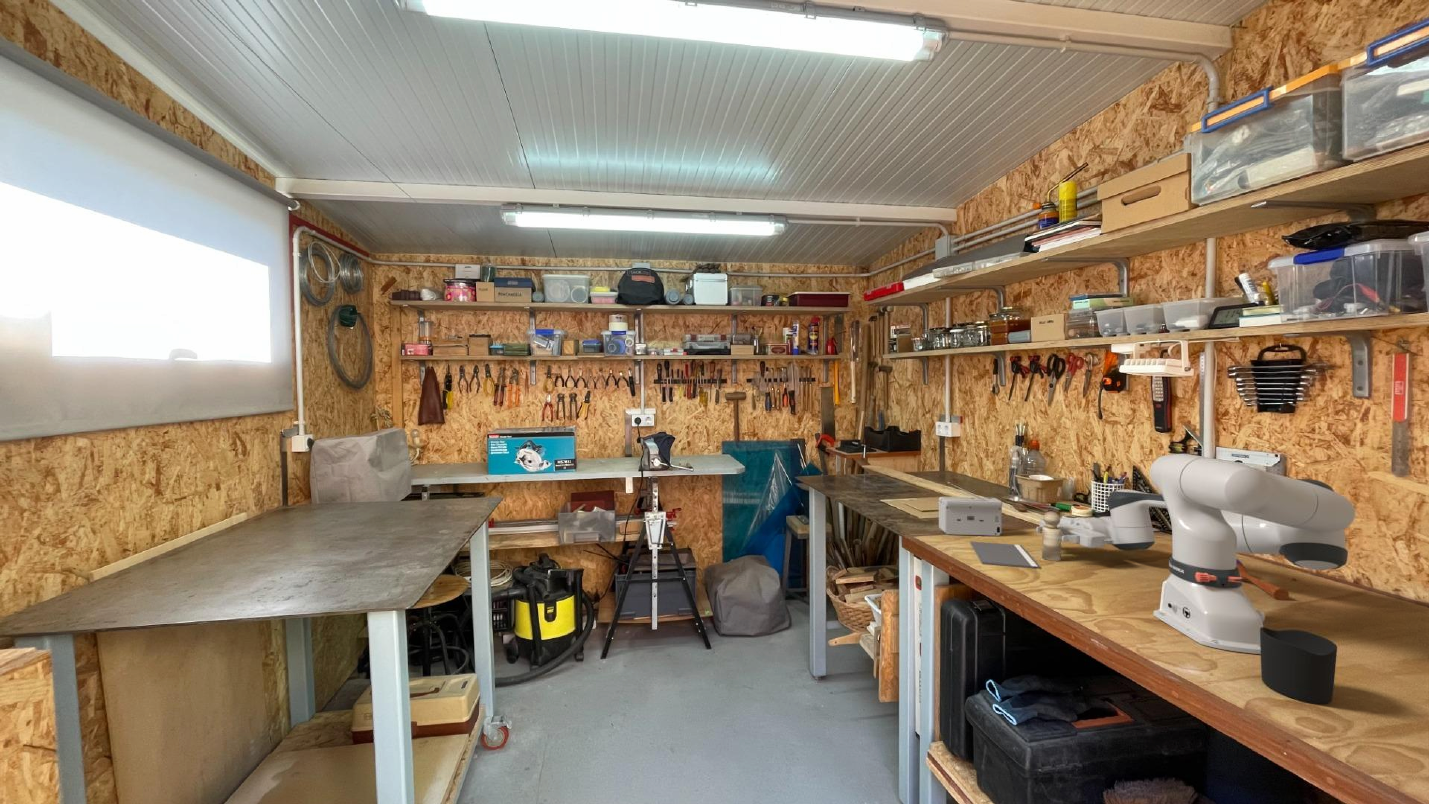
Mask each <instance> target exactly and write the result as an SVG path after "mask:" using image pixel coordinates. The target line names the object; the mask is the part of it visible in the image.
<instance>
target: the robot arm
mask: <svg viewBox="0 0 1429 804" xmlns="http://www.w3.org/2000/svg"><path fill="white" fill-rule="evenodd" d="M1149 469H1150V470H1149V477H1150V480H1151V482H1152V483H1153V485H1154V486H1155V487H1156V488H1157V490H1158V492H1160V493H1150V492H1144V491H1138V490H1134V489H1129V488H1128V489H1126V488H1125V489H1123V488H1122V489H1117V490H1113V491H1112V492H1111V493H1110V494H1109V495H1108V497H1107V498H1106V503H1107V506H1108V507H1107V508H1108V510H1109V512H1110V515H1109V516H1101V517H1093V516H1092V517H1077V516H1076V517H1075V516H1070V515H1062V516H1061V517H1060V523H1059V524H1058V525H1057V527H1058V528H1061V535H1060V541H1061V542H1063V543H1068V542H1069V543H1074V544H1077V545H1079V546H1082V547H1085V548H1089V549H1096V548H1101V547H1105V546H1106V545H1112V546H1113V547H1114V548H1116V549H1118V550H1122V551H1130V552H1131V551H1138V550H1143V551H1144V550H1148V549H1150V548H1152V546H1154V544H1155V543H1156V541H1155V533H1154V529H1153V528H1154V527H1153V525H1152V521H1151V515H1150V509H1149V508H1150V507H1153V508H1161V509H1166V510H1167V511H1168V514H1169V515H1168V516H1169V519H1170V523H1171V530H1172V531H1171V536H1172V537H1171V538H1172V539H1171V540H1172V541H1171V542H1172V545H1171V547H1172V549H1171V550H1172V553H1171V556H1170V557H1169V561H1168V567H1169V569H1168V570H1169V572H1170V574H1169V576H1168V577H1167V578H1166V579H1165V580H1164V581H1163V582H1162V585H1161V586H1162V587H1161V595H1160V603H1159V609H1155V610H1153V615H1152V616H1154V617H1155V618H1157V619H1159V620H1161V621H1162V622H1163V623H1166V625H1168V626H1171V627H1172V628H1173V629H1175V630H1176V631H1178V632H1180V633H1181V634H1183V635H1185V636H1187V637H1188V638H1190V639H1192V640H1193V641H1195V642H1197V643H1198V644H1200V645H1203V646H1207V647H1211V648H1214V649H1215V648H1216V649H1219V650H1224V651H1230V652H1238V653H1244V654H1245V653H1247V654H1256V655H1261V648H1260V628H1261V627H1264V623H1263V622H1265V621H1266V616H1265V613H1264V611H1262V610H1259V609H1256V608H1255V606H1254V605H1253V603H1252V600H1251V598H1249V597H1248V596H1247V594H1246V593H1245V592H1244V590H1243V588H1242V586H1243V581H1242V580H1244V579H1243V578H1241V575H1240V573H1239V569H1238V567H1237V566H1236V559H1237V554H1244V555H1246V554H1247V555H1279V554H1280V555H1282V556H1284V558H1285V559H1286V560H1287V561H1288V562H1289V563H1291V564H1293V565H1294V566H1297V567H1300V568H1305V569H1308V570H1314V571H1327V570H1337V569H1340V568H1341V567H1343V566H1345V565H1346V564H1347V561H1348V557H1349V551H1348V550H1347V549H1346V546H1347V543H1346V541H1347V540H1346V529H1347V528H1349V527H1350V526H1351V525H1352V524H1353V522H1354V521H1355V518H1356V509H1355V506H1354V505H1353V503H1352V502H1351V501H1350V500H1349V499H1348V498H1347V497H1346V496H1343V495H1342V494H1339V493H1338V492H1335V490H1334V489H1333V488H1332V487H1331V486H1330V485H1329V484H1327V483H1326V482H1323V481H1321V480H1317V479H1312V478H1311V479H1309V478H1292V477H1288V476H1285V475H1281V474H1276V473H1272V472H1268V471H1265V470H1262V469H1260V468H1257V467H1253V466H1249V465H1247V464H1244V463H1240V462H1237V461H1236V462H1235V461H1230V460H1223V459H1220V458H1219V459H1217V458H1212V457H1208V456H1207V457H1205V456H1202V455H1201V456H1200V455H1194V454H1190V453H1173V454H1166V455H1165V454H1164V455H1162V456H1159V457H1158V458H1156V459H1155V460H1154V461H1153V462H1152V464H1151V465H1150V468H1149ZM1043 526H1046V523H1045V522H1044V520H1043V519H1041V520H1039V526H1036V528H1035V529H1036V532H1037V533H1039V534H1042V527H1043Z"/></svg>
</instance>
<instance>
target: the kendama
mask: <svg viewBox="0 0 1429 804" xmlns="http://www.w3.org/2000/svg"><path fill="white" fill-rule="evenodd" d="M1236 566H1237V567H1238V569H1239V573H1240V575H1241V578H1243V579H1242V580H1245V579H1246V580H1248V581H1250V582H1251V583H1252V584H1253V585H1255V586H1257V587H1258V588H1259V589H1261V590H1262V591H1264V592H1265V593H1266V594H1267V595H1269V596H1271V597H1272V598H1273V599H1275V600H1276V601H1286V600H1287V599H1288V598H1289V590H1287V589H1285V588H1282V587H1279V586H1277V585H1274V584H1272V583H1269V582H1267V581H1265V580H1263V579H1262V580H1261V579H1260V578H1256V577H1254V576H1252V575H1250V573H1249V570H1248V569H1247V567H1246V566H1244V565H1243V563H1242V562H1241V560H1239V559H1238V558H1236Z"/></svg>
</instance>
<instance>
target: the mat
mask: <svg viewBox="0 0 1429 804" xmlns="http://www.w3.org/2000/svg"><path fill="white" fill-rule="evenodd" d="M970 545H971V546H972V548H973V550H974V552H975V554H976V556H977V557H978V559H979V561H980V563H981V564H982V565H990V566H1003V567H1004V566H1005V567H1017V568H1027V569H1028V568H1029V569H1030V568H1031V569H1037V568H1040V569H1041V566H1040V564H1038V562H1037V561H1036V560H1035V559H1034V557H1032V556H1031V555H1030V553H1029V552H1028V551H1027V550H1026V549H1025V547H1023V545H1022V544H1013V543H1012V544H1011V543H1009V544H1008V543H997V542H995V543H994V542H983V541H982V542H981V541H970Z"/></svg>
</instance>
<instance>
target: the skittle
mask: <svg viewBox="0 0 1429 804" xmlns="http://www.w3.org/2000/svg"><path fill="white" fill-rule="evenodd" d="M1060 518H1061V517H1060V515H1059V514H1058V513H1057V512H1055V511H1047V512H1045V513H1044V514H1043V519H1042V520H1044V522H1045V523H1046V526H1043V527H1042V533H1041V534H1042V539H1041V541H1042V543H1041V547H1042V549H1041V551H1042V552H1041V556H1042V557H1041V558H1042V559H1043V560H1045V561H1050V562H1061V561H1062V559H1061V558H1062V557H1061V556H1062V555H1061V554H1062V553H1061V552H1062V551H1061V550H1062V546H1061V545H1062V541H1060V535H1061V528H1058V527H1057V525H1058V524H1059V523H1060Z"/></svg>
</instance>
